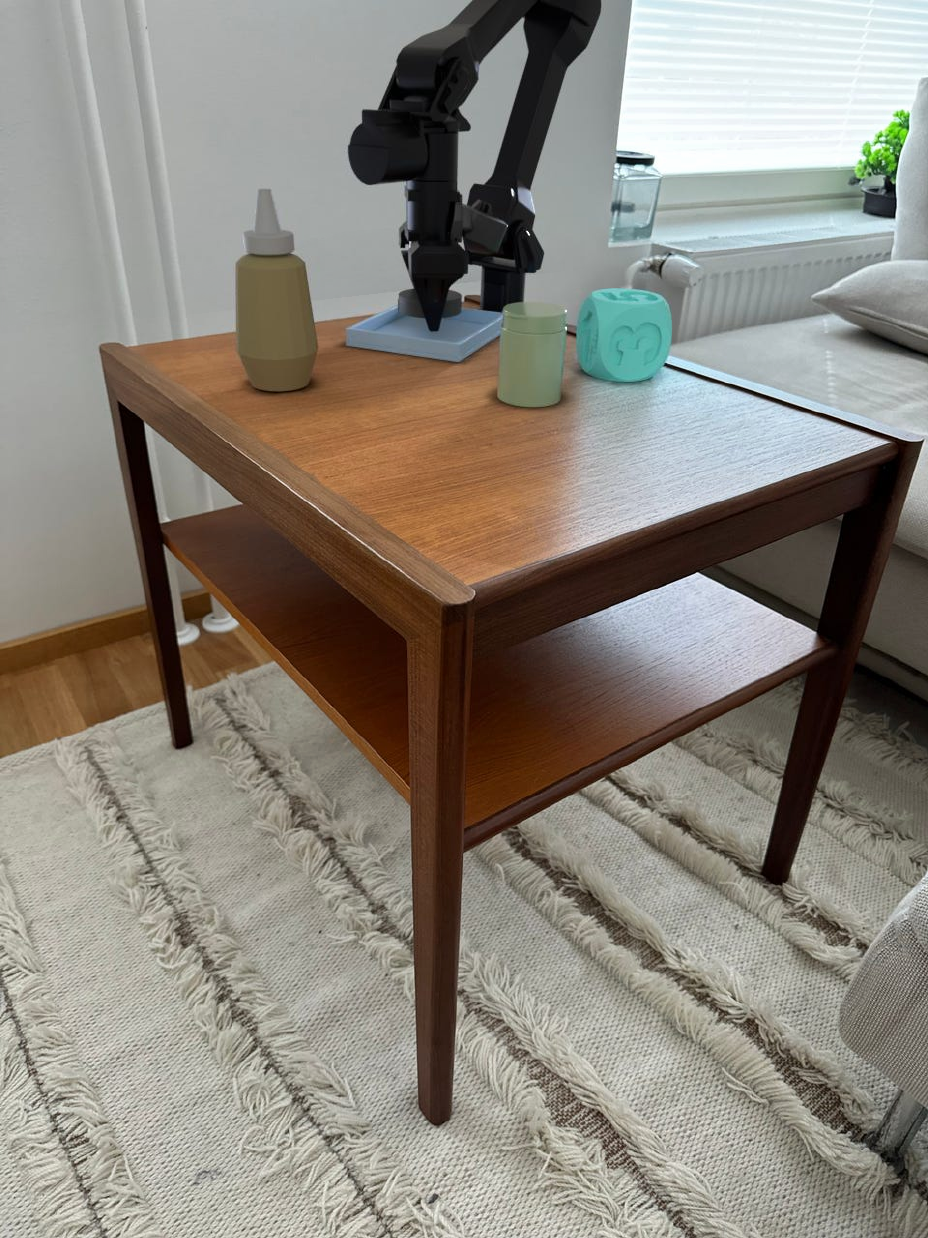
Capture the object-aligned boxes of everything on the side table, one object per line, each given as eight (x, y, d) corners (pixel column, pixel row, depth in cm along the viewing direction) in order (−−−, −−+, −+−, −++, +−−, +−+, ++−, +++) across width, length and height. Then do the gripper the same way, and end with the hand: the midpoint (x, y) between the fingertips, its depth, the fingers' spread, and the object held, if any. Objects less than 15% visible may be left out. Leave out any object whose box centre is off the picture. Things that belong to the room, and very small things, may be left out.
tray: (406, 316, 117) (406, 300, 116) (508, 329, 112) (509, 313, 111) (346, 345, 104) (345, 328, 103) (458, 362, 99) (459, 344, 98)
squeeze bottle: (304, 400, 87) (290, 197, 77) (226, 392, 88) (203, 192, 79) (331, 376, 94) (321, 186, 84) (258, 369, 95) (241, 182, 85)
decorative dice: (572, 361, 101) (580, 287, 97) (640, 360, 102) (649, 287, 98) (594, 383, 94) (603, 305, 90) (665, 381, 96) (677, 304, 91)
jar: (509, 383, 93) (514, 298, 89) (568, 392, 91) (576, 306, 87) (487, 401, 88) (491, 311, 84) (549, 411, 86) (557, 320, 82)
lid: (400, 318, 103) (400, 301, 102) (396, 303, 109) (395, 287, 108) (465, 318, 104) (465, 301, 103) (457, 303, 110) (457, 287, 109)
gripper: (518, 190, 92) (510, 343, 100) (490, 170, 108) (484, 304, 116) (411, 188, 91) (411, 344, 99) (398, 169, 106) (399, 304, 115)
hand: (430, 322), depth 107 cm, fingers closed on lid, 7 cm apart
